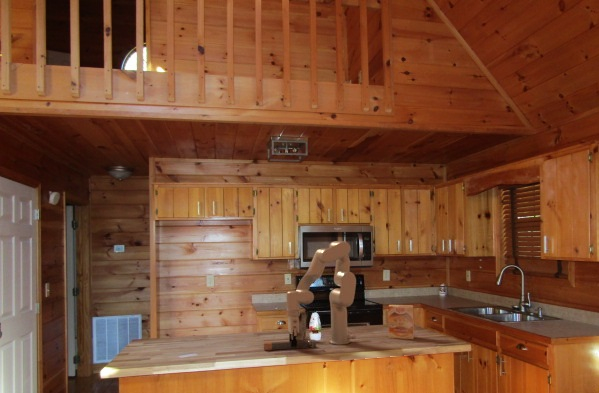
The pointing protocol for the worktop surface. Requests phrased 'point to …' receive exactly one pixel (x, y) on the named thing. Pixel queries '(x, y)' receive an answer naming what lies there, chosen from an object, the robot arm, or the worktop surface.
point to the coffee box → (301, 327)
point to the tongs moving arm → (287, 345)
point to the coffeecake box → (401, 321)
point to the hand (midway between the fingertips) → (293, 345)
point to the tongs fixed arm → (300, 340)
